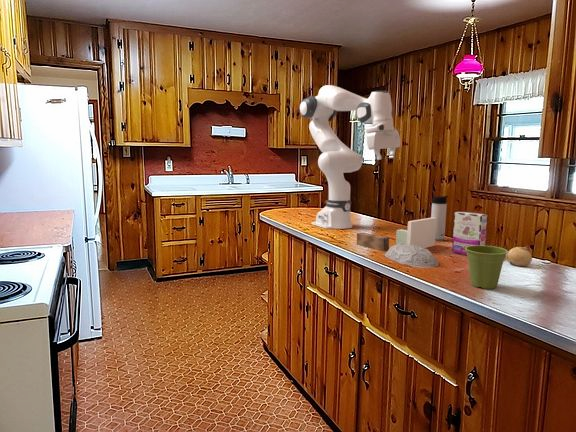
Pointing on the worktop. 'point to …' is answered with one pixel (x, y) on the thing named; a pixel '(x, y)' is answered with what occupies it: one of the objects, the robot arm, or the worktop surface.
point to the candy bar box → (468, 231)
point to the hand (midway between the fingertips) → (385, 158)
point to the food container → (412, 255)
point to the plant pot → (485, 265)
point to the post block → (418, 233)
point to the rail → (373, 241)
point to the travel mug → (439, 216)
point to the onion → (519, 256)
